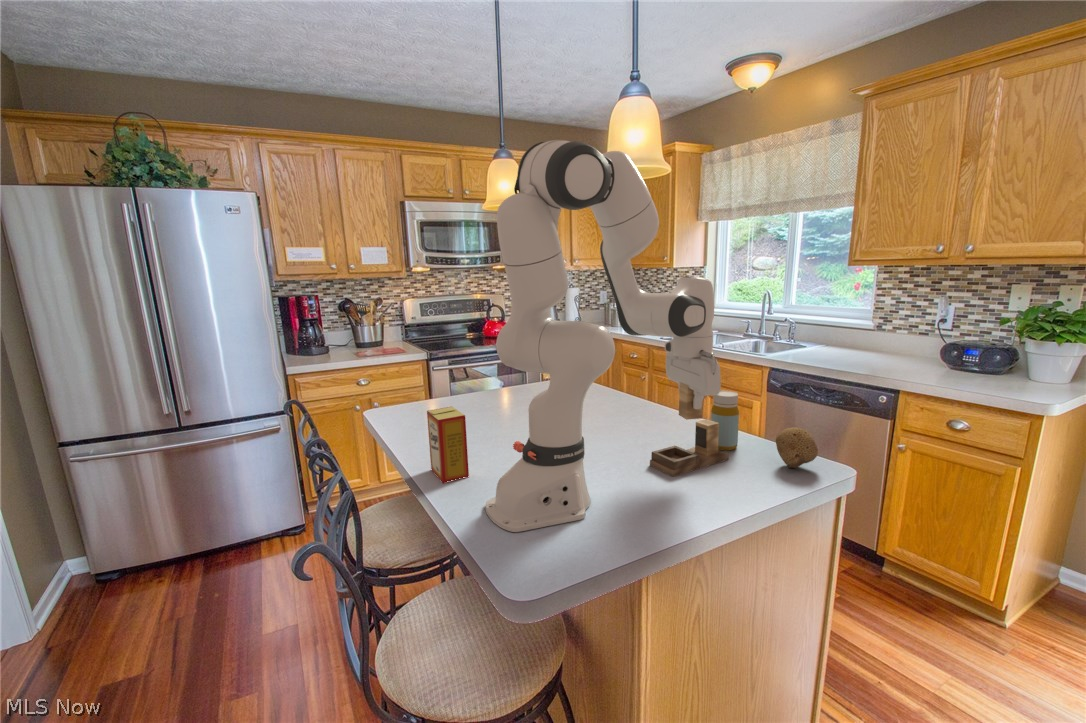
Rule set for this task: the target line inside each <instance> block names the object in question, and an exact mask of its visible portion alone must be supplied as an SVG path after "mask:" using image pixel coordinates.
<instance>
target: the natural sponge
mask: <svg viewBox="0 0 1086 723" xmlns="http://www.w3.org/2000/svg"><path fill="white" fill-rule="evenodd" d="M775 444H776V449H777V453H778V455H779V457H780V459H781V460H782V462H784V464H785V465H786V466H787V467H788V468H798V467H800V466H802V465H804V464H809V463H810V462H813V461H814V460H815V459H816V458H817V457H818V454H819V448H818V445H817V443H816V441H815V439H814V437H813V436H812V435H811V433H809V431H807V430H806V429H804V428H801V427H797V426H795V427H788V428H785V429H782V430H781V431H780V432H779V433H778V434H777V435H776V437H775Z"/></svg>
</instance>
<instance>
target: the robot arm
mask: <svg viewBox="0 0 1086 723" xmlns="http://www.w3.org/2000/svg"><path fill="white" fill-rule="evenodd" d="M513 189H514V193H515V194H512V195H510V196H508V197H507V198H505V199H504V200H503V201H502V202H501V204H499V206H498V208H497V210H496V211H497V212H496V224H497V225H496V228H497V235H498V242H499V248H500V254H501V258H502V259H501V260H502V262H503V266H504V270H505V273H506V277H507V279H506V280H507V284H508V286H509V287H508V288H509V294H510V299H511V308H510V309H511V310H510V315H509V318H508V320H507V322H506V323H505V324H504V325H503V326H502V328H500V330H499V333H498V334H497V337H496V342H495V343H496V344H495V347H496V352H497V356H498V358H499V360H500V362H501V363H502V364H503V365H505V366H507V367H509V368H512V369H515V370H517V371H521V372H523V373H524V372H527V373H534V374H535V373H536V374H546V375H549V385H548V388H547V389H545V390H542V391H541V392H539V393H538V394H537V395H535V396H533V398H532V399H531V401H530V403H529V404H528V411H527V412H528V432H529V433H528V434H529V435H528V436H529V437H528V439H527V440H526V443H525V444H524V443H522V442H521V441H519V440H517V441H514V444H512V449H514V451H516V452H517V453H522V455H521V456H522V457H521V458H520V459H519V460H518V461H517V462H516V463H515V464H513V466H511V467H510V469H509V470H507V472H505V473H504V474H503V475H502V476H501V477H500V478H499V479H498V482H497V484H496V488H495V490H496V491H495V496H494V497H493V498H490V499H488V500H486V502H485V513H486V514H487V517H488V518H489V519H490V520H491V521H492V522H493V523H494V524H496V526H498V527H499V528H501V529H503V530H506V531H508V532H512V533H519V532H524V531H529V530H530V531H531V530H535V529H540V528H545V527H549V526H556V525H559V524H560V525H561V524H565V523H570V522H575V521H581V520H584V519H585V517H586V510H587V509H588V508H589V506H590V505H591V500H592V499H591V496H590V493H589V489H588V486H587V480H586V476H585V466H584V458H585V438H584V437H583V411H584V410H583V408H584V402H585V398H586V396H587V393H588V391H589V389H590V387H591V386H592V385H593V384H594V382H595V381H596V380H597V379H598V378H599V377H601V376H602V375H604V374H605V373H606V372H607V371H608V370H609V369H610V367H611V366H612V363H613V362H614V359H615V355H616V354H615V353H616V344H615V341H614V338H613V336H612V333H611V332H610V330H608V328H607V327H605V326H603V325H600V324H596V323H591V322H587V321H584V320H583V321H580V320H555V319H554V318H553V316H552V312H551V310H552V309H551V308H553V307H554V306H556V305H557V304H559V303H560V302H561V301H562V300H563V299H564V298H565V296H566V295H567V292H568V290H569V280H568V275H567V268H566V264H565V258H564V254H563V250H562V244H561V241H560V236H559V233H558V232H559V220H560V219H559V218H560V214H561V212H562V209H565V210H569V211H579V210H583V209H587V208H590V211H592V213H593V216H594V218H595V221H596V223H597V226H598V227H599V229H600V232H601V236H602V240H601V242H600V245H599V246H600V247H599V250H600V252H599V253H600V259H601V262H602V265H603V269H604V272H605V274H606V278H607V280H608V283H609V287H610V290H611V293H612V295H613V298H614V301H615V305H616V306H615V307H616V311H617V312H616V313H617V319H618V322H619V325H620V326H621V328H622V330H623V331H624V332H625V333H626V334H628V335H629V336H633V337H634V336H635V337H636V336H637V337H638V336H651V337H660V338H661V337H664V338H665V337H667V338H672V339H671V340H668V341H667V342H665V343H664V352H666V355H665V374H666V377H667V379H668V380H670V381H672V382H674V383H677V384H678V388H677V389H678V391H680V383H683V384H685V385H687V386H688V387H689V388H690V389H692V390H694V395H695V396H694V400H693V401H692V402H691V404H692V405H691V407H692V408H694V409H701V405H702V400H703V401H704V398H705V396H706V397H707V396H714V395H718V394H719V392H720V391H722V389H721V388H722V387H721V386H722V385H721V384H722V380H721V379H722V378H721V376H722V374H721V367H720V363H719V362H718V360H717V358H716V357H715V354H714V353H713V349H714V346H713V344H714V332H713V331H714V330H713V321H714V317H715V294H714V287H713V284H712V281H710V280H709V279H707V278H704V277H701V276H700V277H697V276H683V277H680V278H678V280H677V283H676V286H675V287H673V289H671V290H669V291H668V292H647V291H644V290H642V289H641V288H640V287H639V286H638V282H637V279H636V276H635V273H634V269H633V265H632V262H631V261H632V260H631V259H633V258H635V257H637V256H638V255H639V254H641V253H643V251H645V250H646V249H647V248H648V247H649V246H650V245H651V244H652V243H653V241H654V239H655V238H656V236H657V234H658V233H659V232H658V231H659V227H660V218H659V213H658V210H657V208H656V205H655V202H654V200H653V197H652V195H651V193H650V191H649V188H648V186H647V184H646V182H645V180H644V179H643V177H642V175H641V172H640V171H639V170H638V168H637V166H636V165H635V163H634V162H633V161H632V159H631V158H630V156H629V155H628V154H626V153H625V152H622V151H619V150H610V151H606V152H604V153H601V152H600V151H599V150H598V149H597V148H595V147H594V146H592V145H590V144H589V143H587V142H586V143H585V142H583V141H579V140H578V141H577V140H576V141H569V140H565V139H554V140H553V139H552V140H548V141H542V142H541V141H540V142H538V143H535V144H534V145H532V146H531V147H529V148H528V149H527V150H526V151H525V152H524V153H523V154H522V156H521V158H520V160H519V162H518V168H517V176H516V181H515V184H514V188H513Z"/></svg>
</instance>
